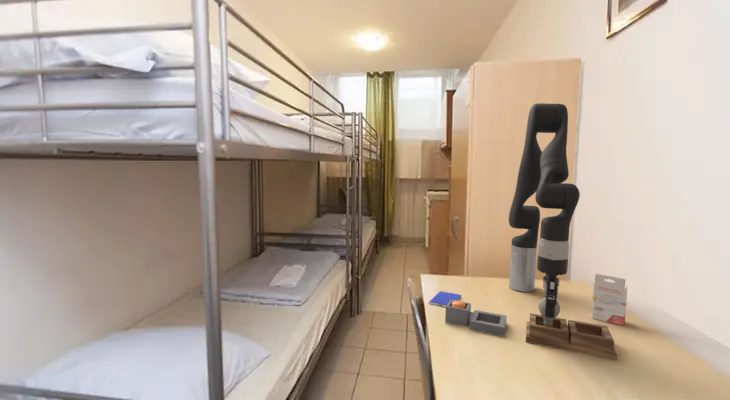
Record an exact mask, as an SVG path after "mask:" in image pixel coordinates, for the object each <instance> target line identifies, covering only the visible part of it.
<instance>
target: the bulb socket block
mask: <svg viewBox="0 0 730 400" xmlns="http://www.w3.org/2000/svg"><path fill="white" fill-rule="evenodd" d="M453 301H455V300H450V301H449V303H448V304H447V306H446V307H445V321H444V323H448V324H452V325H457V326H462V327H469V330H471V331H476V332H482V333H485V334H486V333H487V334H491V335H496V336H501V337H504V336H505V330H506V326H507V315H506V314H500V313H494V312H488V311H483V310H478V309H474V310H473V311H471V309H472V303H471V302H465V301H464V302H465V309H462V308H456V307H452V302H453Z"/></svg>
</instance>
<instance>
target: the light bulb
mask: <svg viewBox="0 0 730 400" xmlns="http://www.w3.org/2000/svg"><path fill="white" fill-rule="evenodd" d="M548 299H551V300H554V297H553V298H550V297H548ZM545 300H546V298H545V297H543V298H541V300H540V301H539V303H538V310H539V313H540V315H542V317H543V319H544V326H547V327H552V325H553V320H554V319H555V318H558V315H559V314H560V312H561V306H560V303H559V302H558V301H557V304H556V305H555V313H554V318H549V317H546V316H545V308H546V302H545Z"/></svg>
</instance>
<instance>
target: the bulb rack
mask: <svg viewBox="0 0 730 400" xmlns="http://www.w3.org/2000/svg"><path fill="white" fill-rule="evenodd" d="M525 328H526V329H525V342H526V343H531V344H536V345H541V346H546V347H551V348H554V349H560V350H565V351H569V350H570V351H571V352H574V351H575V353H579V352H580V354H586V355H589V354H590V356H594V355H595V357H599V356H600V358H604V357H605V359H609V358H610V360H614V359H615V361H617V360H618V353H617V351H616V350H617V349H615V346H614V345H615V339H614V338H613V335H612V332H611V331H610V330H609V327H608V325H602V324H601V325H600V324H595V323H589V322H586V321H585V322H584V321H580V320H579V321H578V320H573V319H568V320H567V319H566V318H560V317H556V318H555V319H554V320H553V325H552V327H547V326H544V319H543V317H542V315H541V314H538V313H529V321H526V327H525Z"/></svg>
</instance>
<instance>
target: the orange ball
mask: <svg viewBox="0 0 730 400" xmlns="http://www.w3.org/2000/svg"><path fill="white" fill-rule="evenodd" d="M452 307H456V308H462V309H465V301H462V300H459V301H453V302H452Z"/></svg>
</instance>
